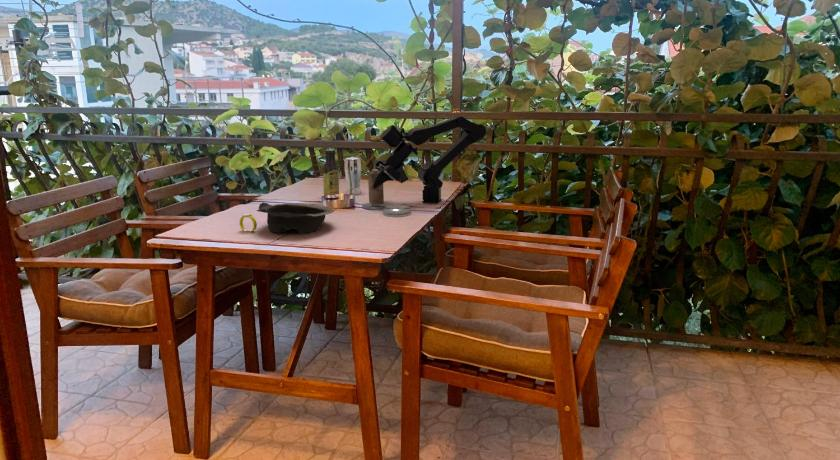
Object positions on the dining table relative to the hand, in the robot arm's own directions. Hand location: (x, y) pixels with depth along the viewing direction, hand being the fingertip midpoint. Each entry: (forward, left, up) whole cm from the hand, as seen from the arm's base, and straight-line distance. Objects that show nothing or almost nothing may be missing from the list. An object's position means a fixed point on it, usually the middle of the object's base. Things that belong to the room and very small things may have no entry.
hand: (372, 186), depth 228 cm
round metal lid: (-12, +7, -8) cm, 17 cm away
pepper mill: (-1, -1, -7) cm, 7 cm away
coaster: (-1, -1, -8) cm, 8 cm away
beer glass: (+18, -22, -8) cm, 29 cm away
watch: (+27, +43, -8) cm, 52 cm away
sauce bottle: (+23, -11, -8) cm, 26 cm away
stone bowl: (+12, +35, -8) cm, 38 cm away
